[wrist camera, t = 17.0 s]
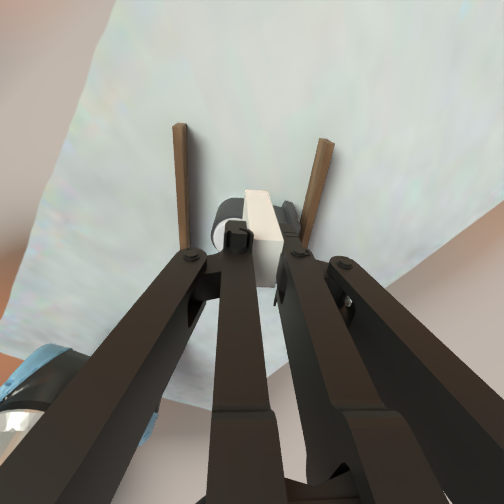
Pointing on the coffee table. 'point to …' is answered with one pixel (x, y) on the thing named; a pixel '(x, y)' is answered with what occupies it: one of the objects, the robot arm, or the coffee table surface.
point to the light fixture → (234, 211)
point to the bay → (311, 198)
